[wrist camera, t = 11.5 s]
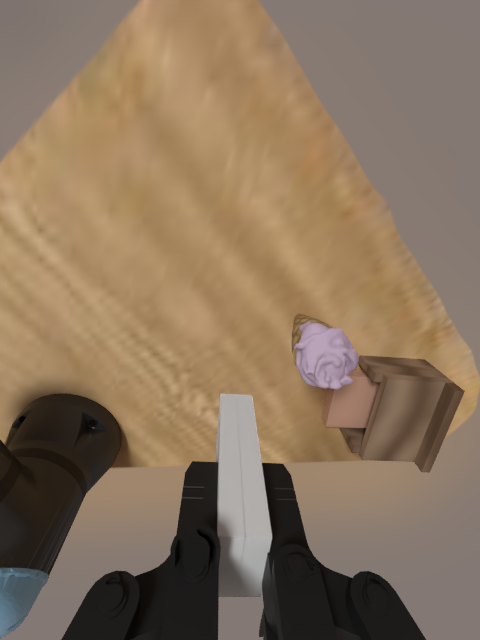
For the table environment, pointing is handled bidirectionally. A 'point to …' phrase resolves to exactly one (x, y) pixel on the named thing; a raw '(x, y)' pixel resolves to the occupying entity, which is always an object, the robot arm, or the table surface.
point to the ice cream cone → (322, 353)
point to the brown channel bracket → (405, 412)
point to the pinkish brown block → (351, 402)
